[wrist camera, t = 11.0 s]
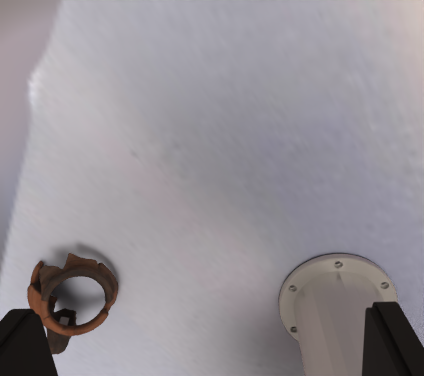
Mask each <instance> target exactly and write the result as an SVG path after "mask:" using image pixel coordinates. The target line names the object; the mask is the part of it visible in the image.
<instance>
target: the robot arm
mask: <svg viewBox="0 0 424 376" xmlns="http://www.w3.org/2000/svg"><path fill="white" fill-rule="evenodd" d="M337 261H338V262H337ZM279 310H280V316H281V320H282V323H283V325H284V326H285V328H286V330H287V331H288V332H289V334H290V335H291V336H292V337H293V338H294V339H295V340H297V341H298V342H299V344H300V350H301V356H302V361H303V367H304V373H305V376H424V347H423V346H422V344H421V342H420V340H419V339H418V337H417V335H416V334H415V332H414V330H413V328H412V327H411V325H410V323H409V321H408V320H407V318H406V316H405V315H404V313H403V311H402V309H401V308H400V306H399V304H398V297H397V293H396V290H395V287H394V285H393V284H392V282H391V280H390V279H389V277H388V276H387V274H386V273H385V272H384V271H383V270H382V269H381V268H380V267H379V266H377V265H376V264H374V263H373V262H371V261H369V260H367V259H365V258H362V257H359V256H355V255H349V254H330V255H324V256H320V257H317V258H314V259H311V260H310V261H308V262H306V263H304V264H302V265H301V266H299V267H298V268H297V269H296V270H294V271H293V272H292V273H291V275H290V276H289V277H288V278H287V279H286V281H285V283H284V285H283V286H282V289H281V292H280V296H279ZM0 376H58V374H57V370H56V367H55V364H54V360H53V357H52V354H51V350H50V347H49V343H48V340H47V337H46V333H45V330H44V327H43V323H42V320H41V317H40V315H39V314H36V313H35V311H34V310H33V309H12V310H10V311H9V312H8V313H7V314H6V315H5V316H4V318H3V319H2V320H1V321H0Z"/></svg>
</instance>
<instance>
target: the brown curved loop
mask: <svg viewBox="0 0 424 376" xmlns="http://www.w3.org/2000/svg"><path fill="white" fill-rule="evenodd" d="M42 264H43V262H42V261H40V262H39V263H38V264H37V265H36V267H35V268H34V270H33V273H32V277H31V284H30V286H29V287H28V296H27V298H28V302H29V306H30V308H31V309H33V310H34V311H35V313H36V314H39V315H40V317H41V320H42V323H43V325H44V326H45V327H46V328H47V340H48V343H49V347H50V350H51V354H60V353H61V352H63V351H65V349H66V347H67V345H68V342H69V339H70V337H71V336H74V335H81V334H84V333H87V332H90V331H92V330H94V329H95V328H96V327H98V326H99V325H100V324H102V323H103V321H104V320H105V319H106V318H107V316H108V311H109V310H110V307H111V306H112V305H113V304H114V302H115V300H116V297H117V291H118V283H117V281H116V279H115V277H114V275H113V274H112V272H111V271H110V270H109V269H108V268H107V267H106V266H105V265H104V264H103V263H99V264H98V263H97V261H96V260H92V259H85V258H80V257H78V256H76V255H74V254H71V253H69V254H68V258H67V260H66V264H65V266H64V268H63V269H60V268H59V267H57V266H47V265H45V266H43V267H42ZM41 267H42V268H41ZM78 276H85V277H89V278H92V279H94V280H96V281H97V282H98V283H99V284H100V285H101V286H102V288H103V290H104V292H105V301H106V303H105V306H104V308H103V309H102V310H101V311H100V313H99V314H98V315H97V316H96V317H95V318H94V319H92V320H91V321H89V322H87V323H85V324H82V325H76V311H74V310H68V309H66V308H64V309H62V310H59V311H57V312H54V308H55V303H56V301H57V298H56V297H54V296H52V295H51V293H52V291H53V290H54V288H55V287H56V286H57V285H59V284H60V283H61V282H63V281H64V280H66V279H68V278H71V277H78ZM39 278H40V279H39Z"/></svg>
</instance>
